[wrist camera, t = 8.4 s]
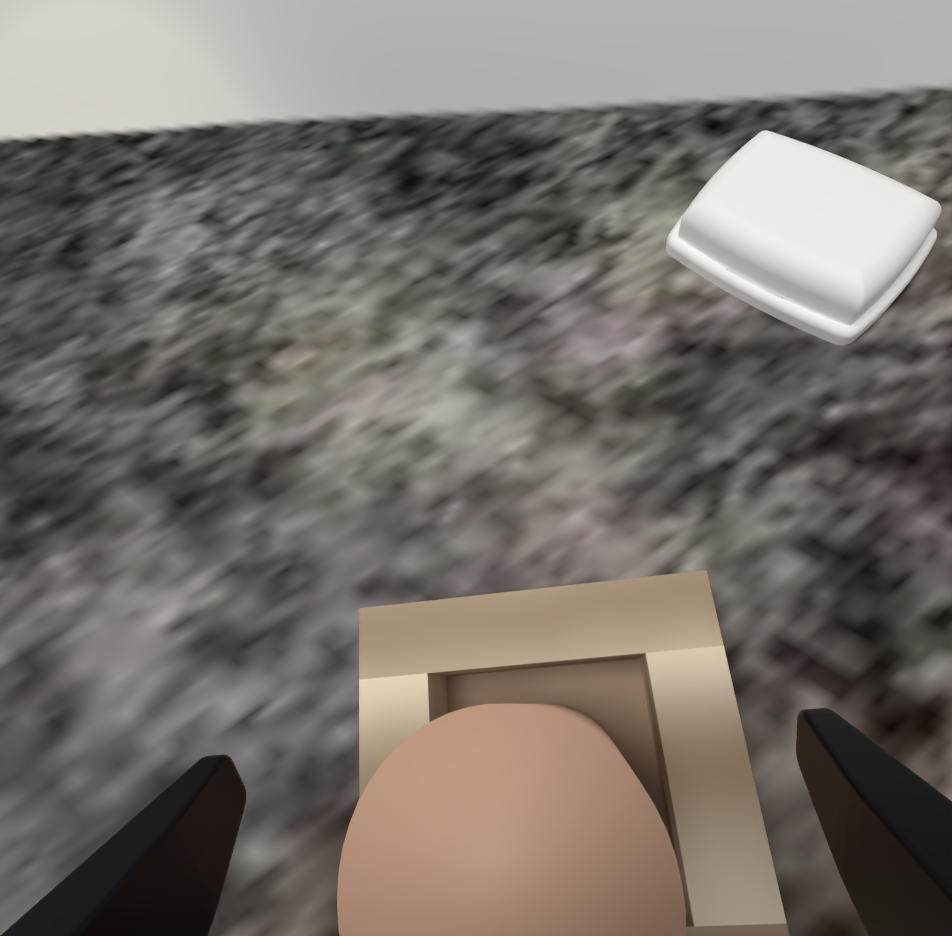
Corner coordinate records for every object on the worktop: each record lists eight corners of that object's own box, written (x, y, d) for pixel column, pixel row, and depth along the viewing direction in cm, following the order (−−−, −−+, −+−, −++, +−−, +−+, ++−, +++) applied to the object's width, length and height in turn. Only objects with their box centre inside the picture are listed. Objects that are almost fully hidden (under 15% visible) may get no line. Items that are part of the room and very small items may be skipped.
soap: (651, 256, 26) (658, 206, 24) (743, 158, 27) (760, 99, 25) (844, 362, 23) (877, 317, 20) (940, 245, 24) (984, 188, 21)
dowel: (567, 895, 18) (530, 1241, 6) (459, 784, 19) (271, 900, 8) (654, 771, 18) (760, 881, 7) (542, 675, 20) (483, 636, 9)
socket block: (775, 982, 16) (812, 1038, 14) (395, 989, 18) (360, 1041, 15) (691, 587, 21) (706, 569, 18) (387, 620, 22) (359, 608, 19)
